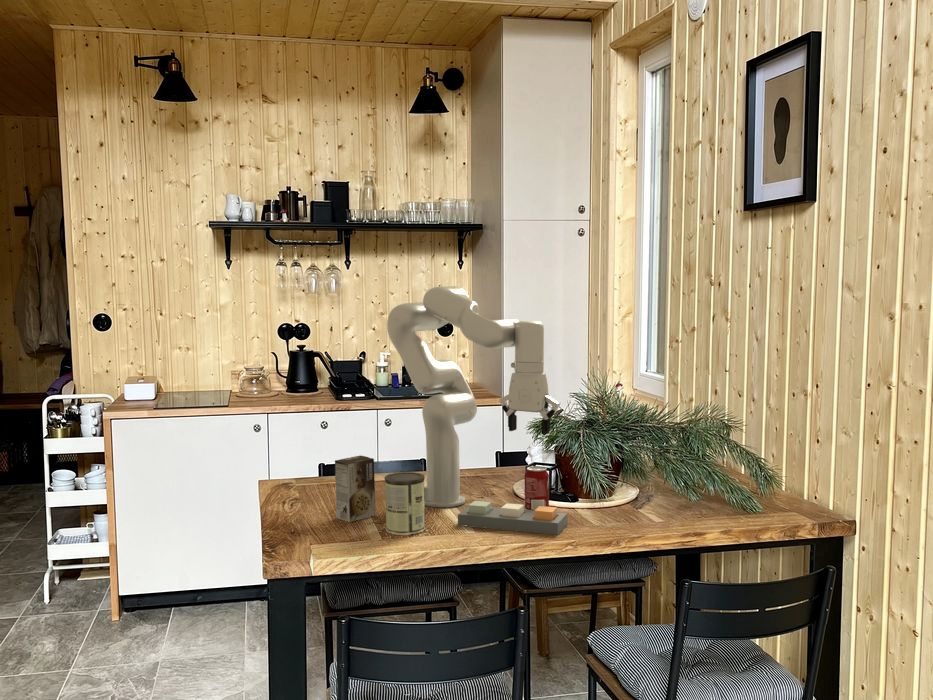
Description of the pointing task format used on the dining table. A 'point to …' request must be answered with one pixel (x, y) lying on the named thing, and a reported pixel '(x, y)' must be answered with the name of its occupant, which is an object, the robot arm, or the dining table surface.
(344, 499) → the grey cardboard box
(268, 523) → the dining table surface
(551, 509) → the orange button
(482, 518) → the button panel
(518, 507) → the cream button
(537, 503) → the soda can
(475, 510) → the sage button
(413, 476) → the coffee can
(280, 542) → the dining table surface
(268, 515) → the dining table surface
